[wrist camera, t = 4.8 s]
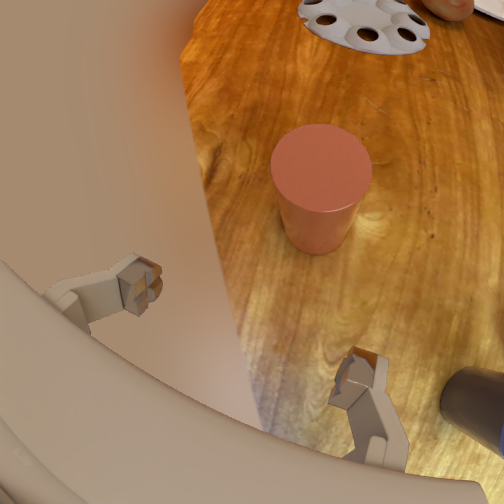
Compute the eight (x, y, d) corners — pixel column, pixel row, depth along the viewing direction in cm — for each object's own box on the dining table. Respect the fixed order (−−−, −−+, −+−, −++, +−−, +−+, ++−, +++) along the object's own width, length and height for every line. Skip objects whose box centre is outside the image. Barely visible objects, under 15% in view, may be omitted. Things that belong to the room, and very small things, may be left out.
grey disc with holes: (439, 71, 27) (443, 60, 25) (288, 42, 31) (286, 30, 29) (419, 4, 30) (420, -5, 28) (305, -16, 34) (304, -24, 32)
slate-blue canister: (452, 436, 18) (508, 476, 9) (430, 394, 20) (490, 426, 10) (495, 396, 18) (560, 416, 9) (475, 353, 20) (546, 361, 10)
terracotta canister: (308, 268, 24) (310, 233, 15) (270, 214, 26) (250, 154, 16) (362, 231, 24) (392, 177, 15) (323, 180, 26) (329, 109, 16)
